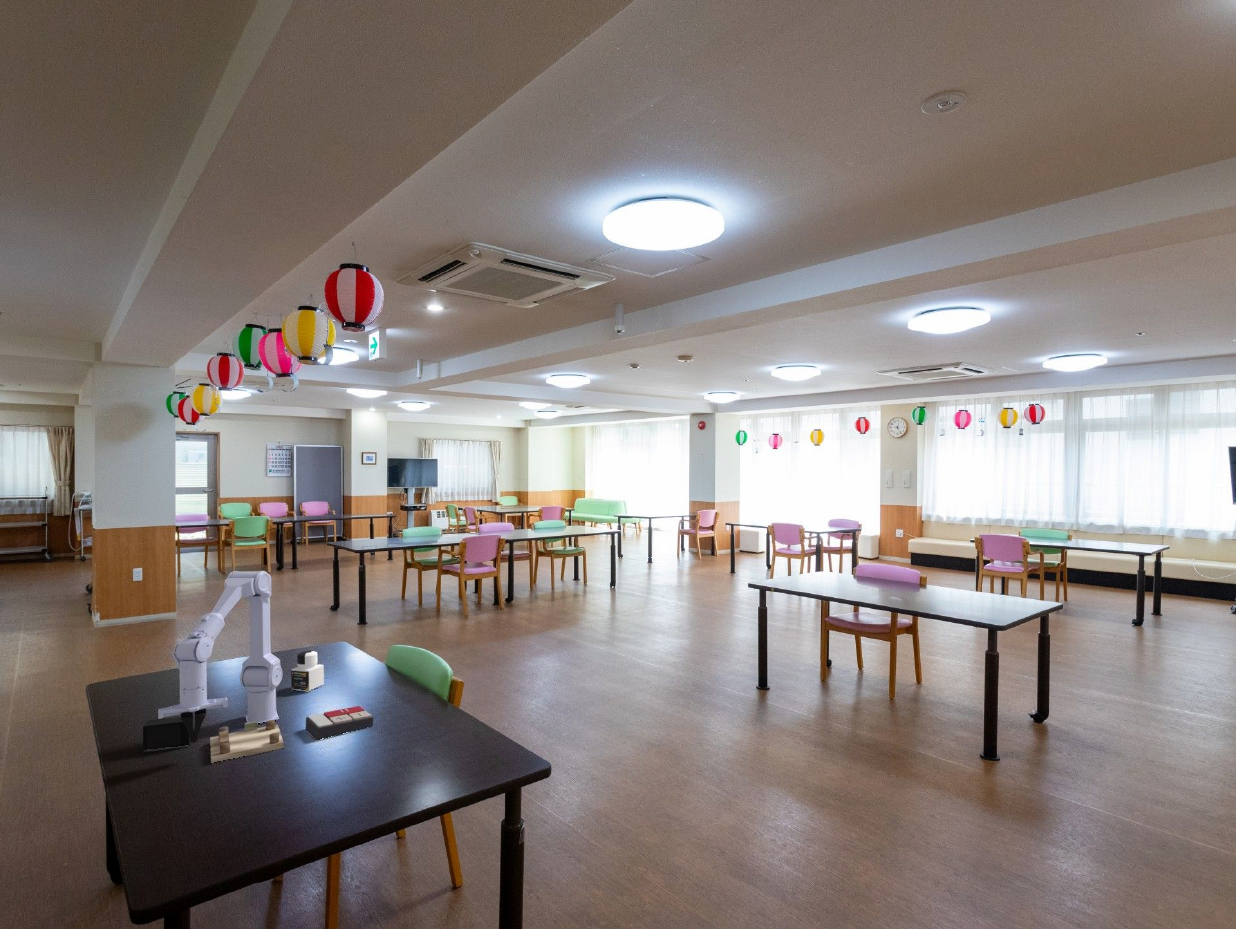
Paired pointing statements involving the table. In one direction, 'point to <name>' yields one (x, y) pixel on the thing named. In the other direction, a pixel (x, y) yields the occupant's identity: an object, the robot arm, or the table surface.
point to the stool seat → (247, 742)
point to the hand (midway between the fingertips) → (194, 741)
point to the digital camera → (165, 733)
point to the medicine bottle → (307, 672)
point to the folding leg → (223, 735)
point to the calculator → (338, 722)
